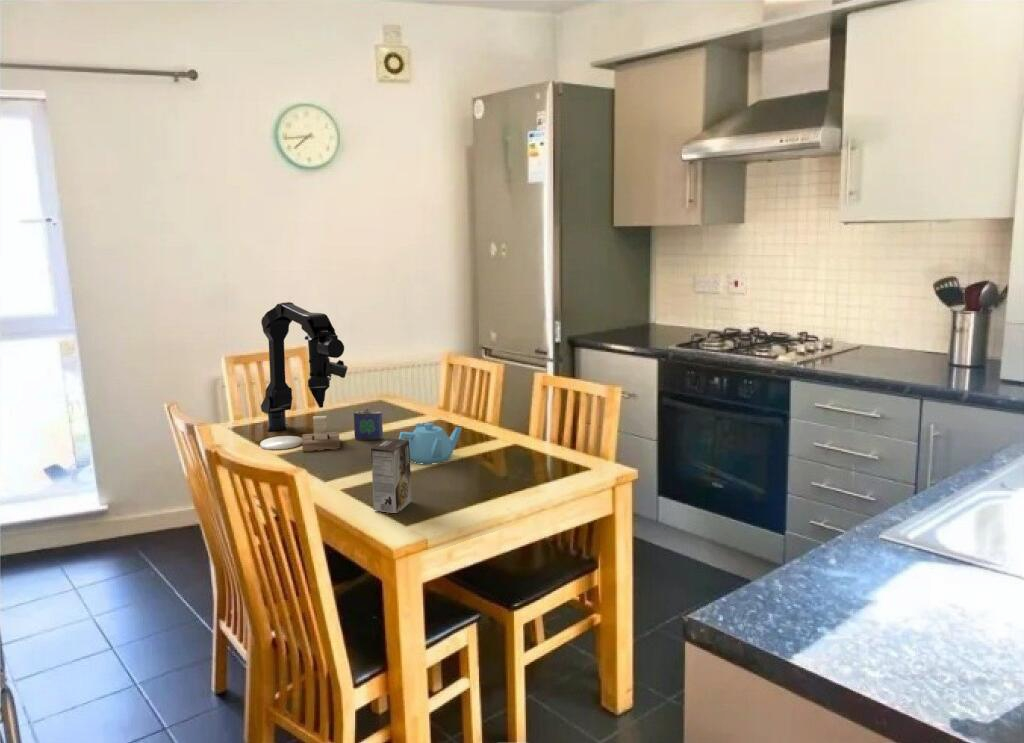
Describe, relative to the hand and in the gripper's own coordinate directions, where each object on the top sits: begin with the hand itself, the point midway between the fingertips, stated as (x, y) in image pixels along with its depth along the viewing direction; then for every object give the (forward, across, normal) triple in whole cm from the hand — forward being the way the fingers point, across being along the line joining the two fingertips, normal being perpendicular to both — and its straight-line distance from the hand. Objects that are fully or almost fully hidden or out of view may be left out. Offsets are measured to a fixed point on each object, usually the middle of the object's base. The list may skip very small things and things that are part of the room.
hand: (321, 404), depth 240 cm
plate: (+13, +5, +13) cm, 19 cm away
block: (+13, 0, +1) cm, 13 cm away
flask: (+14, +4, -14) cm, 20 cm away
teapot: (+14, -21, -31) cm, 40 cm away
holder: (+13, 0, +1) cm, 13 cm away
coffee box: (+15, -58, -19) cm, 63 cm away
